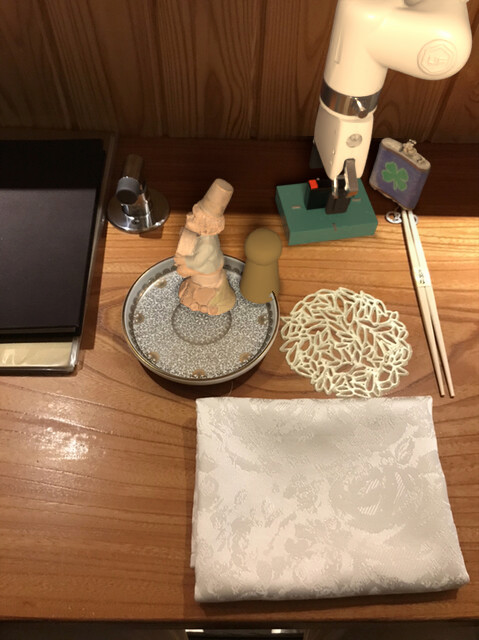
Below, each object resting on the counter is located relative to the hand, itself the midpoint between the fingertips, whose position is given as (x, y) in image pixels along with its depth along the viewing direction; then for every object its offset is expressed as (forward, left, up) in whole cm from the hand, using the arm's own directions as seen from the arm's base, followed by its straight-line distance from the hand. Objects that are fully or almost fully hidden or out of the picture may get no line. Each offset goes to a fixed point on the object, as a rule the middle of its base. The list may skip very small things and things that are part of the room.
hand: (326, 188), depth 86 cm
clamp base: (0, 0, -6) cm, 6 cm away
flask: (-13, -3, -6) cm, 15 cm away
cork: (+13, +12, -6) cm, 19 cm away
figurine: (+21, +12, -6) cm, 25 cm away
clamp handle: (0, 0, -3) cm, 3 cm away
